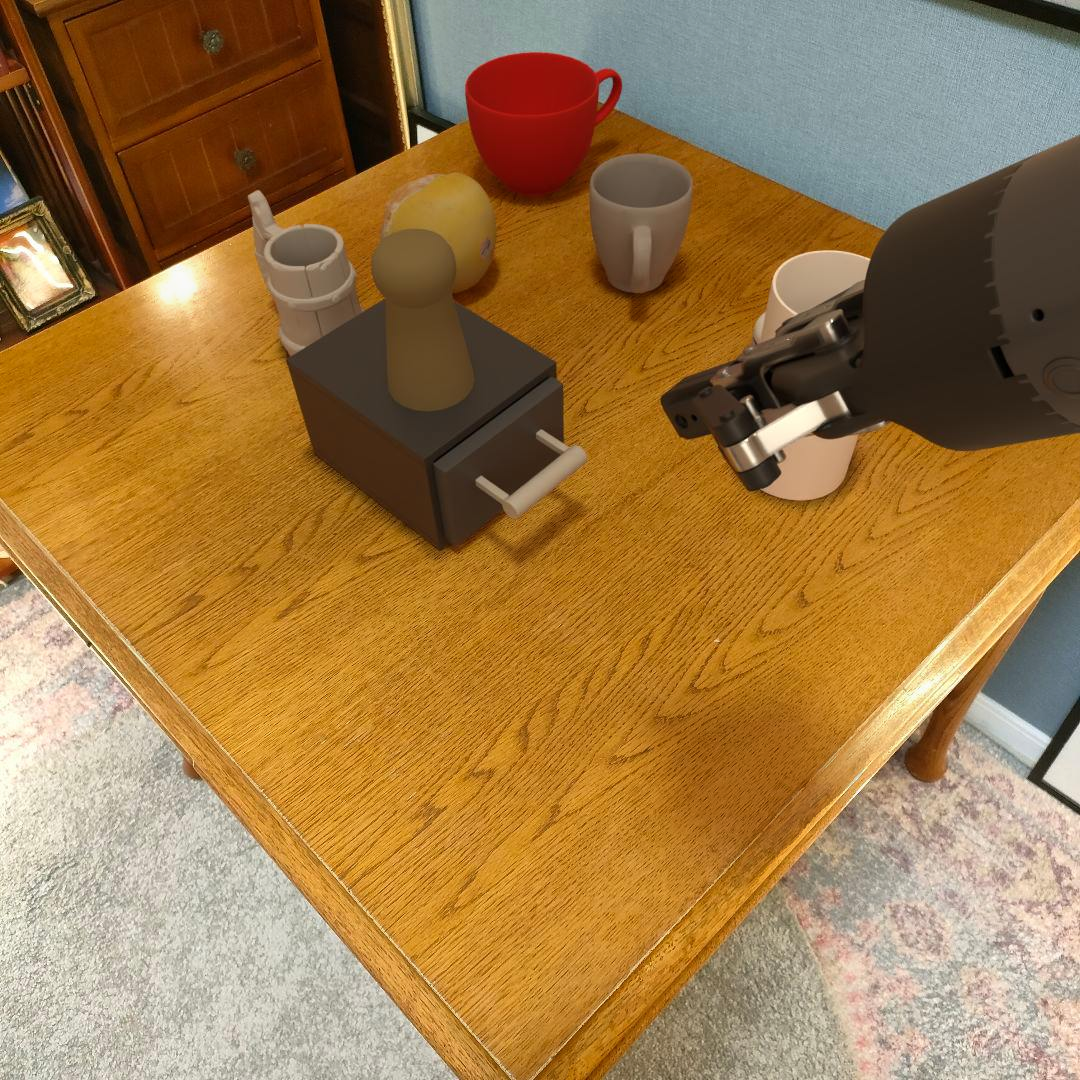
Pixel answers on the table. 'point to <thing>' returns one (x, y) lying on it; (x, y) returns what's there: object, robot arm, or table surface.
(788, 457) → the cup
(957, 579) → the table surface
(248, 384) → the table surface
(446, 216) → the fruit
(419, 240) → the pepper shaker
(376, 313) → the small storage chest
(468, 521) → the drawer
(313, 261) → the mug
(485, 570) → the table surface
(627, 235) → the mug
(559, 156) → the ceramic cup
